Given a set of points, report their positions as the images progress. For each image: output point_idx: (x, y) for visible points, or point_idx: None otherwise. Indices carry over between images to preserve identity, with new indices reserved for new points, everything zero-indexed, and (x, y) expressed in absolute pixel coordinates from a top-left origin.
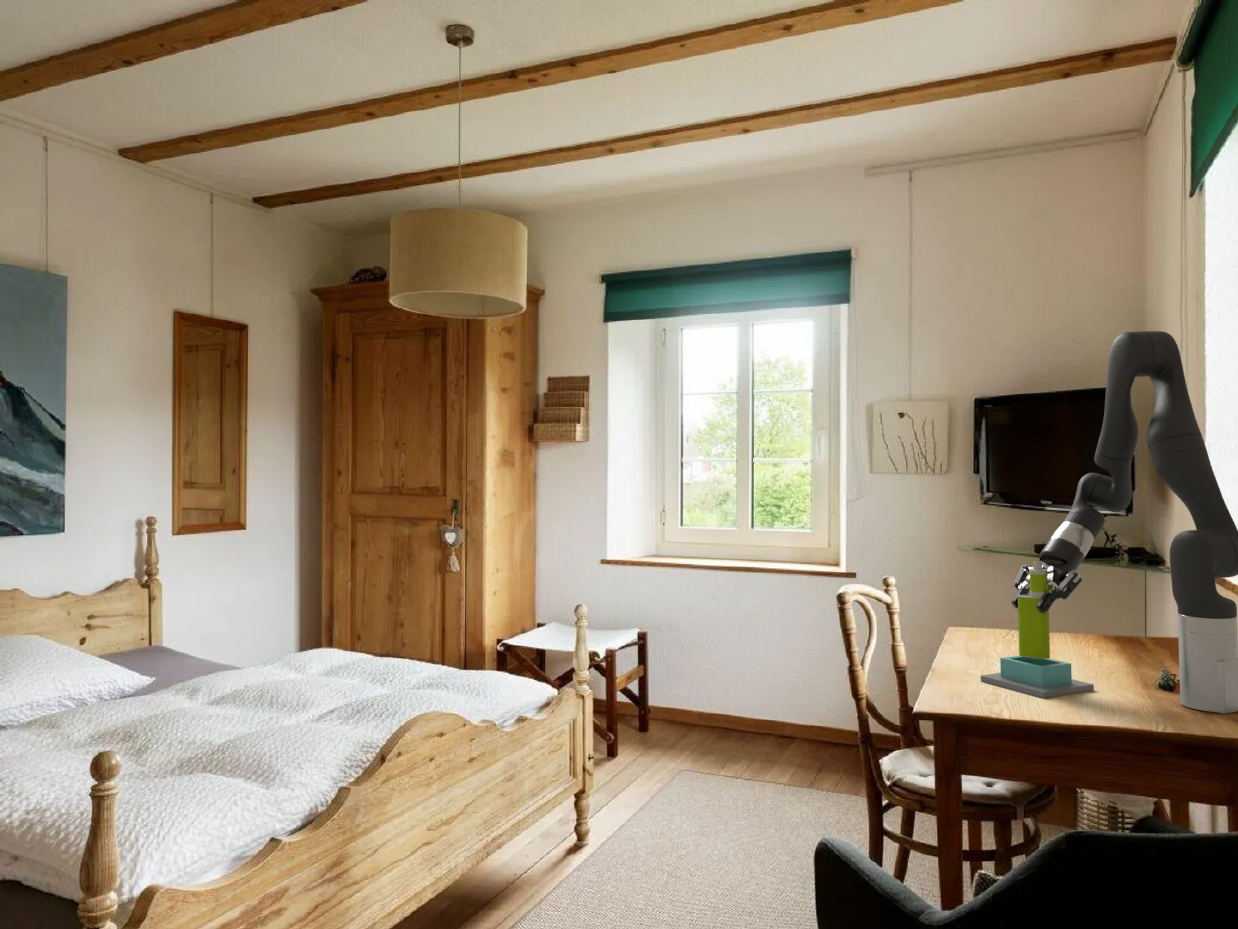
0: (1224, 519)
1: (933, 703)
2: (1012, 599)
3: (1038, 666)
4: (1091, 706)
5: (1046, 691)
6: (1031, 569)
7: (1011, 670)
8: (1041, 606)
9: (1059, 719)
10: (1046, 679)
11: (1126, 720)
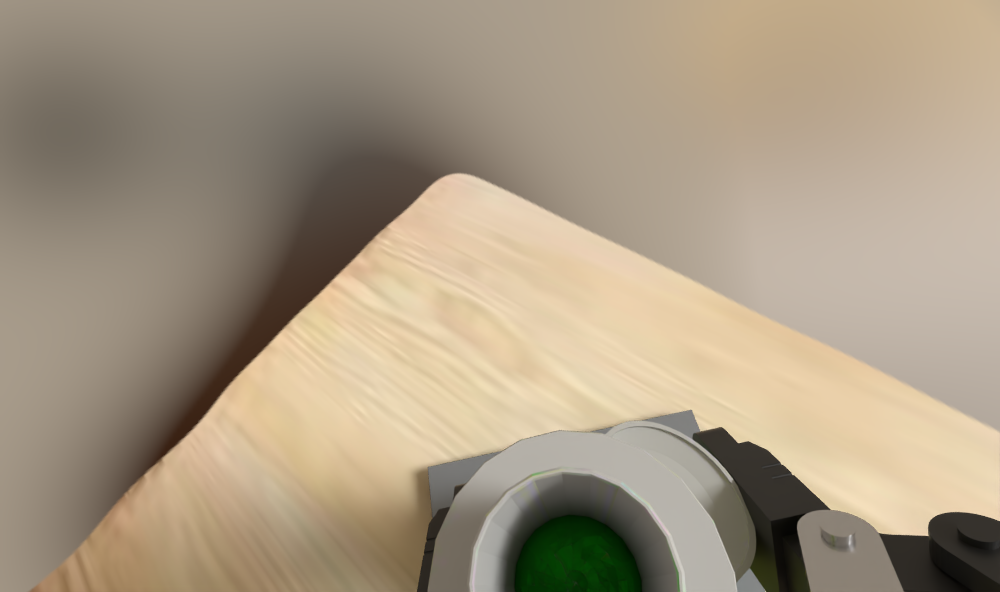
0: None
1: (486, 197)
2: (763, 452)
3: None
4: (305, 557)
5: (431, 484)
6: (641, 486)
7: None
8: None
9: (266, 374)
10: None
11: (165, 540)
